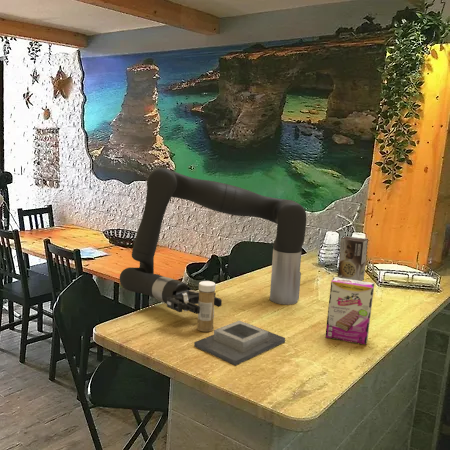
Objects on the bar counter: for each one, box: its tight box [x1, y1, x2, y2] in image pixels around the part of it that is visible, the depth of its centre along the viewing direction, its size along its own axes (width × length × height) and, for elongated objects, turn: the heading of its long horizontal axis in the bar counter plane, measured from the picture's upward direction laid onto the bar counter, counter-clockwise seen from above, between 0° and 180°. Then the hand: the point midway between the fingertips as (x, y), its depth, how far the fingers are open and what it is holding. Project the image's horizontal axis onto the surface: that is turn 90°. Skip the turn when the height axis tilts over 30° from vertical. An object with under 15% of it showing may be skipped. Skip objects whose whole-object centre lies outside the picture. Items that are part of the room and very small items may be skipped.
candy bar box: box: [324, 276, 375, 346], centre depth 134 cm, size 11×5×16 cm, turn 70°
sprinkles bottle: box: [196, 280, 216, 333], centre depth 135 cm, size 5×5×14 cm
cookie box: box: [337, 235, 369, 281], centre depth 191 cm, size 9×6×16 cm
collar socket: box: [193, 320, 286, 366], centre depth 128 cm, size 20×14×4 cm
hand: (210, 306), depth 134 cm, fingers open, 8 cm apart
